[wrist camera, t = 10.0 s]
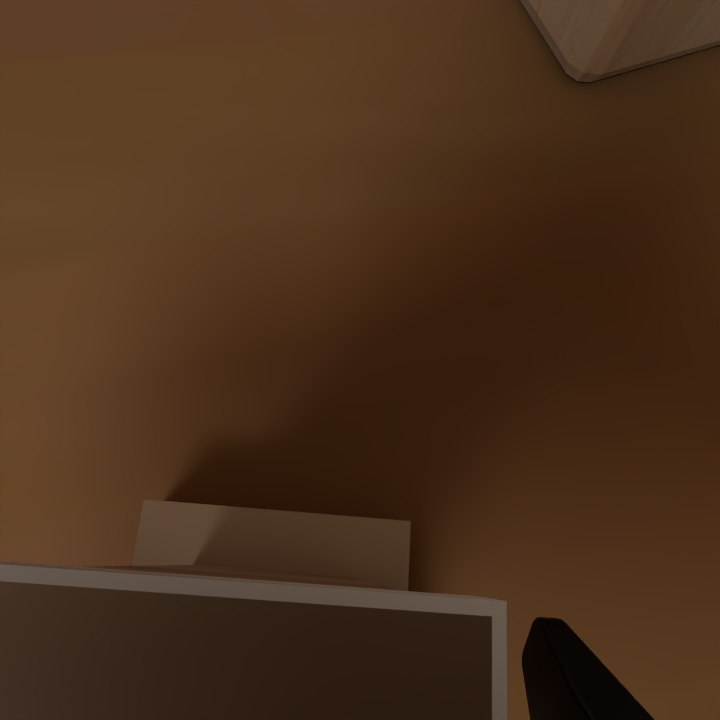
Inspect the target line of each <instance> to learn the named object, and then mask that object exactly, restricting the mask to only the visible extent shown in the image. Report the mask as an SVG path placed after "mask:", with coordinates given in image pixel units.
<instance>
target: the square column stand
mask: <svg viewBox="0 0 720 720" xmlns="http://www.w3.org/2000/svg"><path fill="white" fill-rule="evenodd" d="M410 531H411V521H404V520H392V519H380V518H368V517H355V516H343V515H331V514H319V513H306V512H294V511H282V510H270V509H257V508H245V507H233V506H221V505H208V504H196V503H184V502H172V501H159V500H147V499H144V501H143V506H142V511H141V517H140V522H139V527H138V533H137V538H136V543H135V549H134V554H133V559H132V565H131V566H103V567H74V566H61V565H47V564H34V563H20V562H7V561H0V720H508V714H507V601H502V600H497V599H492V598H486V597H481V596H467V595H454V594H440V593H427V592H413V591H408V578H409V555H410Z"/></svg>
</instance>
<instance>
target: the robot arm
mask: <svg viewBox="0 0 720 720" xmlns="http://www.w3.org/2000/svg"><path fill="white" fill-rule="evenodd" d="M522 669H523V675H524V682H525V688H526V695H527V701H528V708H529V714H530V720H654V719H653V718H652V717H651V715H650V714H649V713H648V712H647V711H646V710H645V709H644V708H643V707H642V706H641V705H640V703H639V702H638V701H637V700H636V699H635V698H634V697H633V696H632V695H631V694H630V693H629V691H628V690H627V689H626V688H625V687H624V686H623V685H622V684H621V683H620V682H619V681H618V679H617V678H616V677H615V676H614V675H613V674H612V673H611V672H610V671H609V670H608V668H607V667H606V666H605V665H604V664H603V663H602V662H601V661H600V660H599V659H598V658H597V656H596V655H595V654H594V653H593V652H592V651H591V650H590V649H589V648H588V647H587V646H586V644H585V643H584V642H583V641H582V640H581V639H580V638H579V637H578V636H577V635H576V634H575V632H574V631H573V630H572V629H571V628H570V627H569V626H568V625H567V624H566V623H565V622H564V621H563V620H561V619H558V618H547V617H537V618H536V619H535V620H534V621H533V623H532V626H531V629H530V632H529V635H528V638H527V641H526V644H525V646H524V649H523V654H522Z"/></svg>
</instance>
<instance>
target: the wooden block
mask: <svg viewBox="0 0 720 720" xmlns="http://www.w3.org/2000/svg"><path fill="white" fill-rule="evenodd" d="M520 1H521V3H522V4H523V6H524V7H525V9H526V11H527V12H528V14H529V15H530V17H531V19H532V20H533V22H534V23H535V25H536V27H537V28H538V30H539V31H540V33H541V35H542V36H543V38H544V39H545V41H546V42H547V44H548V46H549V47H550V49H551V50H552V52H553V54H554V55H555V57H556V58H557V60H558V62H559V63H560V65H561V66H562V68H563V69H564V71H565V73H566V74H568V75H569V76H571V77H572V78H573V79H575V80H576V81H581V82H593V81H596V80H600V79H603V78H607V77H610V76H614V75H617V74H620V73H624V72H627V71H631V70H634V69H638V68H641V67H645V66H648V65H652V64H655V63H659V62H662V61H665V60H669V59H672V58H676V57H679V56H683V55H686V54H690V53H693V52H697V51H700V50H704V49H707V48H710V47H714V46H717V45H720V0H520Z"/></svg>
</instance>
